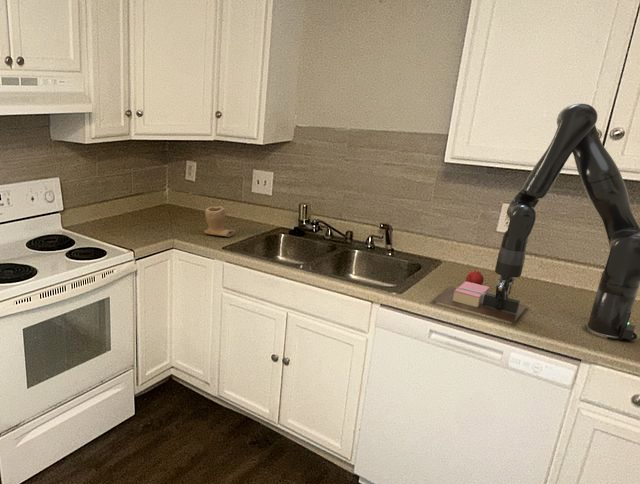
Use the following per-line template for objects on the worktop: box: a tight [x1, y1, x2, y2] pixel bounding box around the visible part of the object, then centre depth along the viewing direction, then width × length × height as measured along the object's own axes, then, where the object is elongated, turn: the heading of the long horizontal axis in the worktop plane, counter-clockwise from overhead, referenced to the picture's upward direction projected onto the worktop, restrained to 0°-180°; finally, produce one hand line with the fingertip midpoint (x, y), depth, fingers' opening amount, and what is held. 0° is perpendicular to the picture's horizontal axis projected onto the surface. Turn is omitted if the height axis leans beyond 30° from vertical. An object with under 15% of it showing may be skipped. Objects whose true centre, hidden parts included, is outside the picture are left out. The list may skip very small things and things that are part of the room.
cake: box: [459, 281, 491, 304], centre depth 190 cm, size 8×9×4 cm
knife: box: [456, 286, 521, 314], centre depth 182 cm, size 19×2×4 cm, turn 45°
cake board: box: [432, 286, 528, 324], centre depth 185 cm, size 25×20×1 cm
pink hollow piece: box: [204, 205, 237, 238], centre depth 267 cm, size 15×12×15 cm
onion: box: [465, 268, 484, 285], centre depth 200 cm, size 6×6×8 cm
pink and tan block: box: [453, 289, 482, 307], centre depth 185 cm, size 8×3×4 cm, turn 45°
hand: (499, 307), depth 180 cm, fingers closed on knife, 2 cm apart
